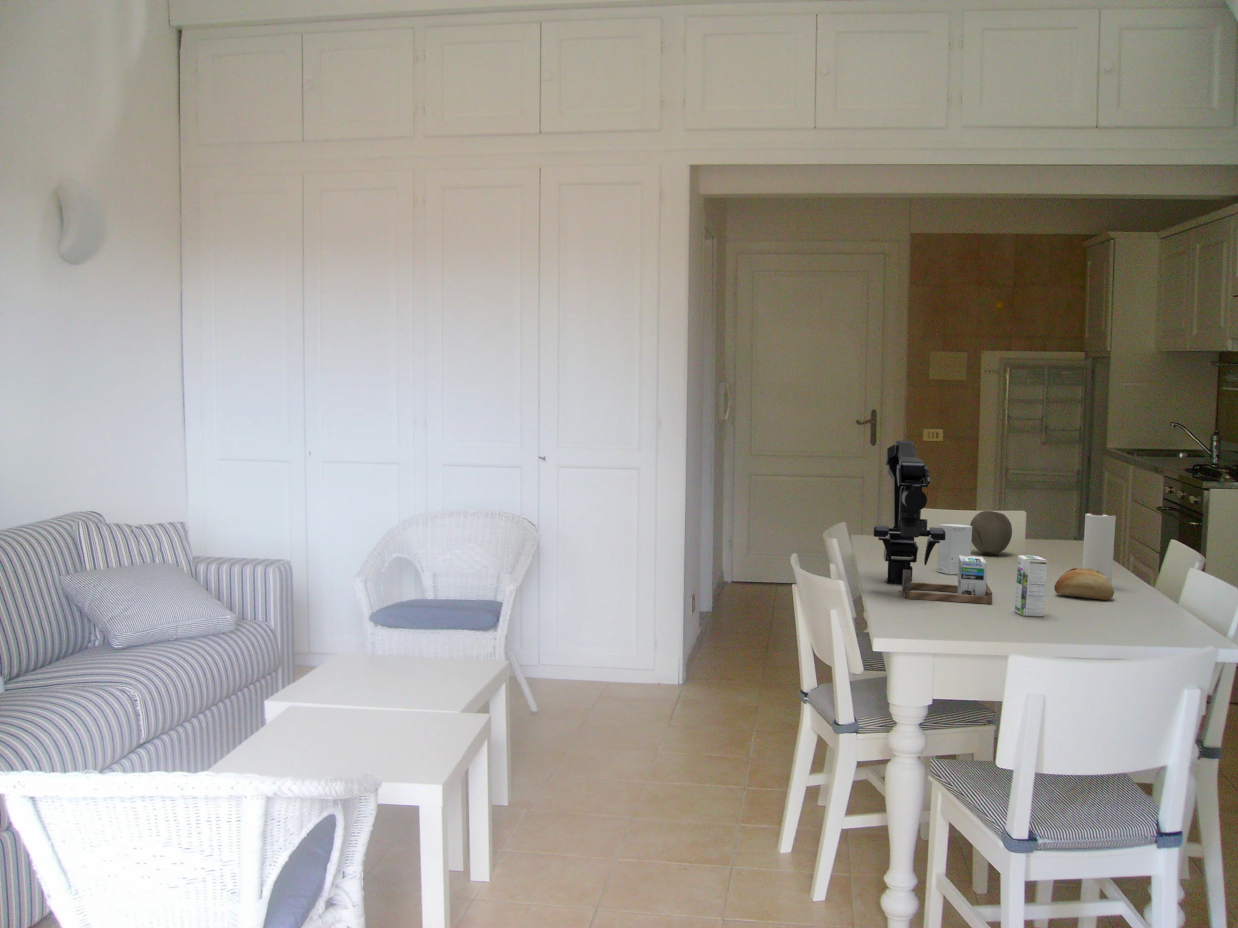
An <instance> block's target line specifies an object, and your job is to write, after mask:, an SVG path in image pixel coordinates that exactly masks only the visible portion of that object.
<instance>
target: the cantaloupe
mask: <svg viewBox="0 0 1238 928" xmlns="http://www.w3.org/2000/svg"><path fill="white" fill-rule="evenodd" d="M969 526H972V541H971V545H973V547H974V548H975V549H976V550H977V551H979V552H980V553H981V554H984V555H987V556H996V555H998V554H1001V553H1002V552H1003V551H1005V549H1007V547H1008V546H1009V544H1010V542H1011V540H1012V537H1013V536H1012V535H1013V527H1012V523H1011V521H1010V519H1009V518H1008V516H1006V515H1005V514H1004V513H1001V512H997V511H992V510H983V511H980V512H978V513H976V514H975V515H974V516H973V518H972V519H971V521H970V524H969Z"/></svg>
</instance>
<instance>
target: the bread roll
mask: <svg viewBox="0 0 1238 928" xmlns="http://www.w3.org/2000/svg"><path fill="white" fill-rule="evenodd" d="M1053 587H1054V592H1055V594H1057V595H1060V596H1065V597H1075V598H1076V597H1077V598H1084V599H1086V598H1087V599H1093V600H1095V599H1096V600H1100V601H1109V600H1111V599H1112V598H1113V596H1114V594H1115V592H1114V591H1115V590H1114V587H1113V585H1111V583H1110V581H1109V580H1108V578H1107V577H1106V576H1105V575H1104V574H1103V573H1100V572H1099V571H1096V570H1092V569H1082V568H1078V567H1073V568H1071V569H1069V570H1066V571H1065V572H1064V573H1063V574H1062V575H1060V576H1059V577H1058V578H1057V580H1056V582H1055V584H1054V586H1053Z"/></svg>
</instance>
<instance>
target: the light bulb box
mask: <svg viewBox="0 0 1238 928" xmlns="http://www.w3.org/2000/svg"><path fill="white" fill-rule="evenodd" d="M987 572H988V562H987V561H986V560H985V558H984V557H983V556H974V555H973V556H972V555H971V556H963V555H959V565H958V574H957V585H958V592H956V594H962V595H977V596H986V583H987V574H988V573H987Z"/></svg>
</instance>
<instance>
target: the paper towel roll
mask: <svg viewBox="0 0 1238 928" xmlns="http://www.w3.org/2000/svg"><path fill="white" fill-rule="evenodd" d="M1116 518H1117V515H1107V514H1102V513H1085V515H1084V532H1083V536H1084V537H1083V549H1082V569H1092V570H1096V571H1099V572H1100V573H1103V574H1104V575H1105V576H1106V577H1107V578H1108V580H1109V581H1110V583H1111V585H1112V583H1113V565H1114V553H1115V551H1114V550H1115V549H1114V548H1115V535H1116V534H1115V533H1116ZM1112 586H1113V585H1112Z"/></svg>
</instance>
